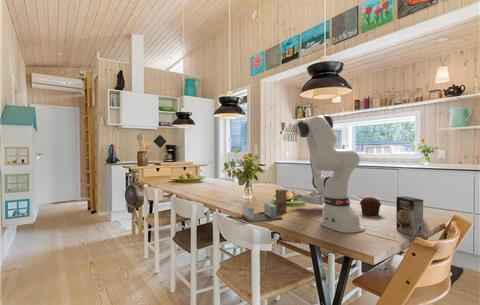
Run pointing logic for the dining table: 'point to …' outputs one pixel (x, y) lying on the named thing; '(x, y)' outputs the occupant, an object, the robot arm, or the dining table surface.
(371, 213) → the muffin
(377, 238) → the dining table surface
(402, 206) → the coffee box
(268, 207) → the sliding jaw
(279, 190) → the walnut block
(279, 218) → the vise
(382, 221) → the dining table surface
